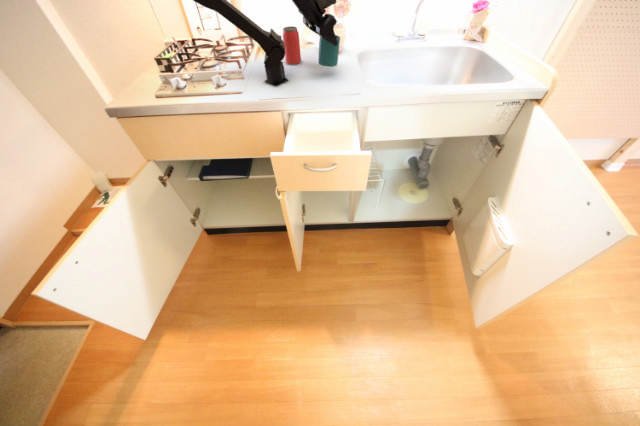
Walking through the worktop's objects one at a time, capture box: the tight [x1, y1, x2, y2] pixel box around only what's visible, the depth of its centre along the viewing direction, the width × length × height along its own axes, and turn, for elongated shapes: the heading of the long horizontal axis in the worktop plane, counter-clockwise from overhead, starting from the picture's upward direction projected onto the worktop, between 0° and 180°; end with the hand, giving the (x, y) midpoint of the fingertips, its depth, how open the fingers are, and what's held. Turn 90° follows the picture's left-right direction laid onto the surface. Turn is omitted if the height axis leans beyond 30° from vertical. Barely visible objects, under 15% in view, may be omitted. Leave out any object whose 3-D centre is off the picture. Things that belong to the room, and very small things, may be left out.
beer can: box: [282, 26, 302, 65], centre depth 99 cm, size 7×7×12 cm
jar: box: [317, 35, 340, 68], centre depth 87 cm, size 7×7×8 cm
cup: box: [316, 22, 346, 51], centre depth 106 cm, size 12×12×10 cm
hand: (332, 42), depth 86 cm, fingers closed on jar, 7 cm apart
